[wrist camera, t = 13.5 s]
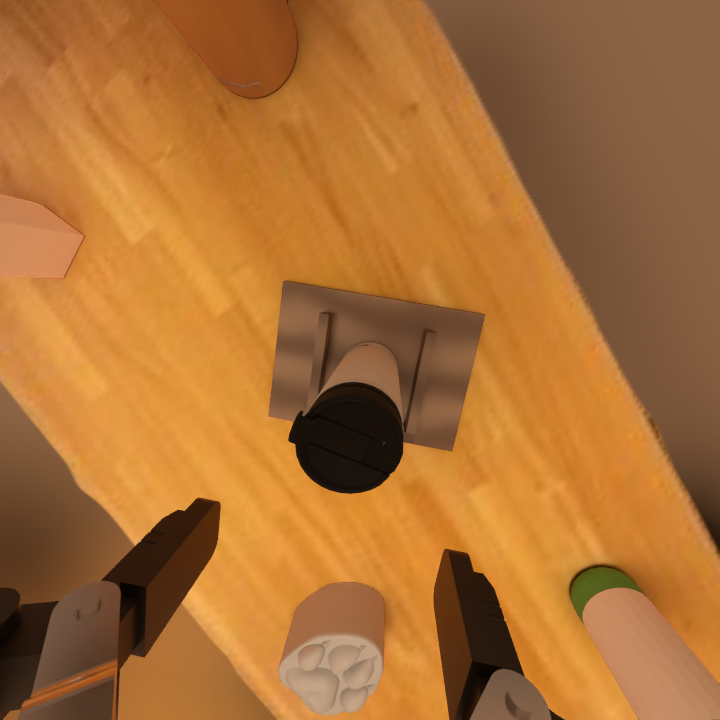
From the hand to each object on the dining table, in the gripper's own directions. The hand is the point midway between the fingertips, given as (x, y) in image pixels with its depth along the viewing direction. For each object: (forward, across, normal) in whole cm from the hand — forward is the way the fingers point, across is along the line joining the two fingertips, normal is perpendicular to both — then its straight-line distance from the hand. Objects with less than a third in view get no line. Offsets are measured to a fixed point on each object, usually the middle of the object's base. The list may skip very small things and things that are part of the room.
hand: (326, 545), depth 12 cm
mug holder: (+28, 0, 0) cm, 28 cm away
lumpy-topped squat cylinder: (+28, -2, +36) cm, 45 cm away
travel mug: (+27, 0, 0) cm, 27 cm away
